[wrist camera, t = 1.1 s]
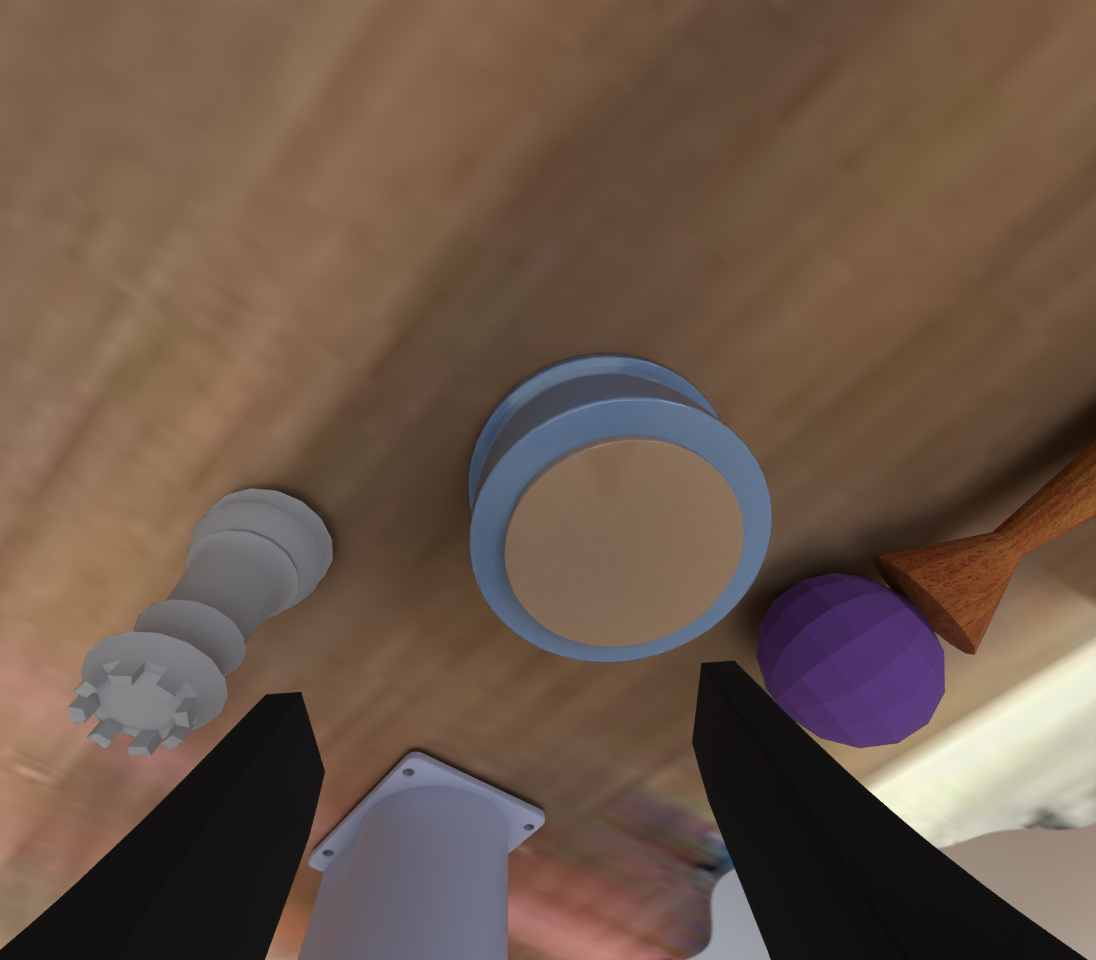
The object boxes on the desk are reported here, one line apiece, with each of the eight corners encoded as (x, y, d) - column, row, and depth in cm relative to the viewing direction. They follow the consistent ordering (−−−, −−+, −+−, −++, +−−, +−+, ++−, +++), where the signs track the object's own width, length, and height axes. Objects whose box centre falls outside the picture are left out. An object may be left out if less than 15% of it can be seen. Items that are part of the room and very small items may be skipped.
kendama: (1414, 449, 16) (858, 803, 19) (1171, 384, 21) (761, 672, 24) (1478, 294, 13) (801, 746, 16) (1175, 261, 18) (703, 609, 21)
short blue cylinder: (607, 626, 22) (632, 722, 18) (417, 503, 19) (389, 581, 15) (778, 462, 19) (856, 526, 15) (587, 290, 16) (615, 307, 12)
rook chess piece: (263, 605, 20) (126, 806, 13) (181, 515, 19) (-30, 689, 11) (361, 558, 20) (275, 741, 13) (286, 461, 18) (135, 608, 11)
